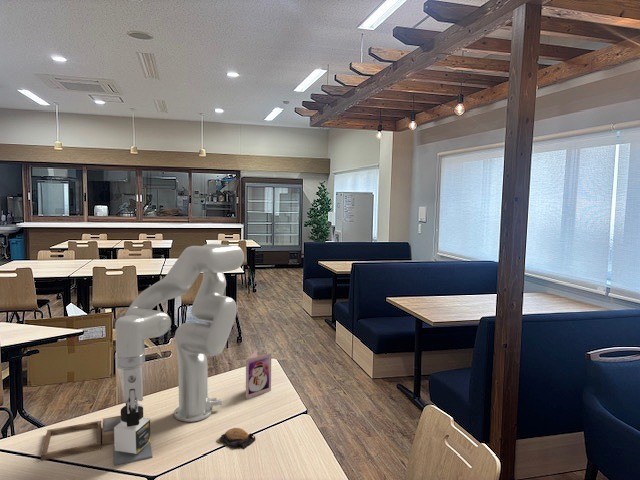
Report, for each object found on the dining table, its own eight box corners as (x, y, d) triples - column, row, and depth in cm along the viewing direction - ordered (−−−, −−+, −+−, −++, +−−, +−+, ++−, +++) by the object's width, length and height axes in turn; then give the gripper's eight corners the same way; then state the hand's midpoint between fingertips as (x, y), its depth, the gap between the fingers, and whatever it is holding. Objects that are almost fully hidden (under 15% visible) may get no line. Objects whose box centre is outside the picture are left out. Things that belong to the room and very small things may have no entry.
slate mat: (149, 439, 138) (149, 438, 138) (152, 457, 129) (152, 455, 128) (113, 447, 133) (113, 445, 133) (114, 465, 124) (113, 463, 124)
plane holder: (136, 418, 150) (136, 401, 150) (139, 441, 137) (138, 422, 136) (47, 434, 140) (46, 415, 139) (40, 460, 126) (40, 440, 125)
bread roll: (213, 444, 137) (213, 432, 137) (230, 431, 145) (230, 420, 144) (242, 453, 132) (242, 441, 132) (258, 439, 140) (258, 428, 140)
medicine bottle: (136, 454, 127) (135, 413, 125) (114, 451, 128) (112, 410, 127) (151, 440, 134) (150, 402, 132) (129, 437, 135) (128, 399, 134)
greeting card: (247, 400, 165) (247, 360, 164) (236, 393, 171) (236, 354, 169) (272, 391, 173) (272, 353, 172) (261, 385, 179) (261, 348, 177)
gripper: (147, 368, 122) (148, 431, 124) (142, 348, 138) (144, 404, 139) (116, 372, 119) (118, 437, 121) (115, 351, 134) (117, 409, 136)
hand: (132, 419), depth 130 cm, fingers closed on medicine bottle, 6 cm apart
